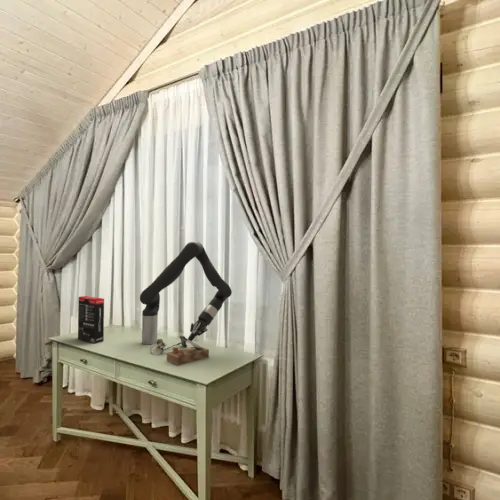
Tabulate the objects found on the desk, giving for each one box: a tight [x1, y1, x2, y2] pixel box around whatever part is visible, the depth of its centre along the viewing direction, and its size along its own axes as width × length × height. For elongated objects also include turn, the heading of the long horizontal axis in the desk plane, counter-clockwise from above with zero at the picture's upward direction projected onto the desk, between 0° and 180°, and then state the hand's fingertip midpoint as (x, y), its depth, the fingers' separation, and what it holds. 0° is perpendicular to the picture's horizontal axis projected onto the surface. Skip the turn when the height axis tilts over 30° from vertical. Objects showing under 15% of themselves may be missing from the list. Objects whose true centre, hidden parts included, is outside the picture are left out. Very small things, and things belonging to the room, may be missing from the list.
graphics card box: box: [77, 295, 105, 344], centre depth 210 cm, size 17×7×27 cm, turn 63°
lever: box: [179, 335, 202, 349], centre depth 180 cm, size 14×3×1 cm
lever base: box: [166, 346, 210, 366], centre depth 179 cm, size 20×10×7 cm, turn 135°
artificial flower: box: [148, 335, 188, 356], centre depth 193 cm, size 9×22×10 cm, turn 130°
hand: (189, 340), depth 180 cm, fingers closed
